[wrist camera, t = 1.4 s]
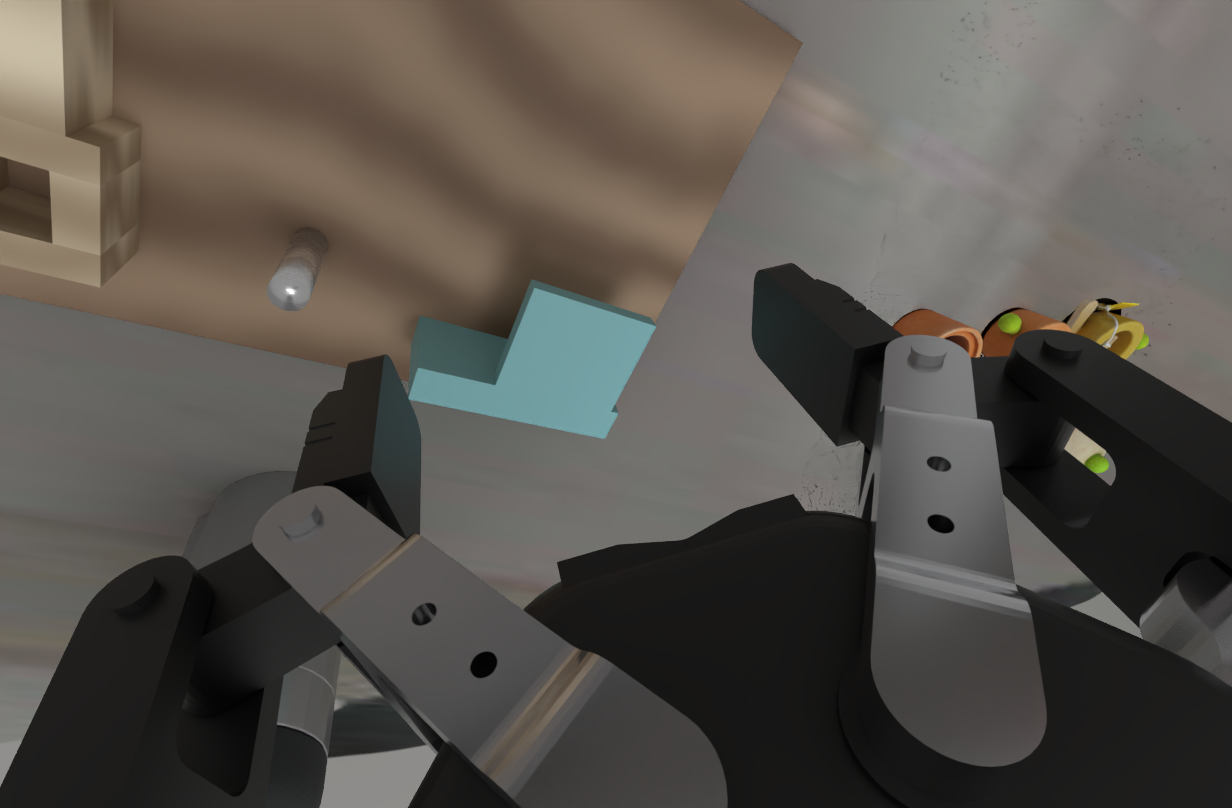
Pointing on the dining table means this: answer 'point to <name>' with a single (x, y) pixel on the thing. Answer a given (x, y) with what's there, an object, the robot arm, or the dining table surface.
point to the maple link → (65, 142)
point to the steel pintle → (298, 270)
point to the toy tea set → (999, 335)
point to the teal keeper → (534, 362)
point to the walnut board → (418, 159)
